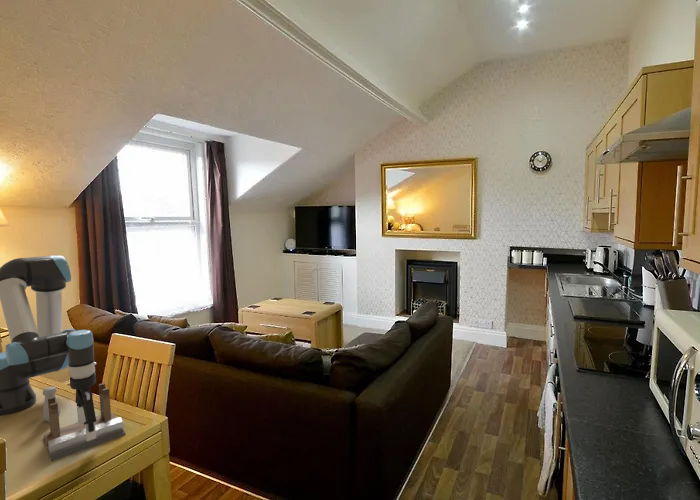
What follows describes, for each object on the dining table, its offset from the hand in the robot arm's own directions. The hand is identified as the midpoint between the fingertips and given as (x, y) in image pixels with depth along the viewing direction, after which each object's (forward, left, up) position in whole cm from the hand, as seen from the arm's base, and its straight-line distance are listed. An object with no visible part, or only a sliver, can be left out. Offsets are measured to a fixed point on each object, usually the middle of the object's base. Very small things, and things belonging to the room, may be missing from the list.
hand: (87, 431), depth 140 cm
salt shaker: (-27, -7, -4) cm, 28 cm away
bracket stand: (-10, 0, -4) cm, 11 cm away
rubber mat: (0, 0, -4) cm, 4 cm away
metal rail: (0, 0, -3) cm, 3 cm away
